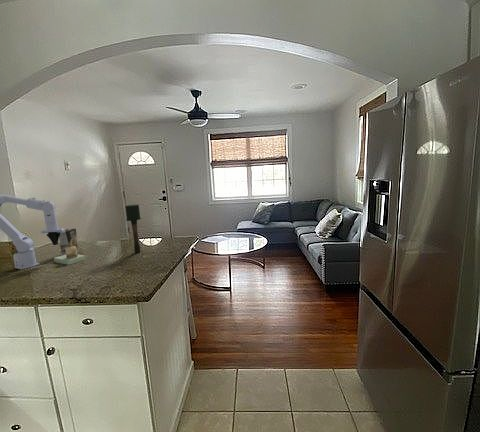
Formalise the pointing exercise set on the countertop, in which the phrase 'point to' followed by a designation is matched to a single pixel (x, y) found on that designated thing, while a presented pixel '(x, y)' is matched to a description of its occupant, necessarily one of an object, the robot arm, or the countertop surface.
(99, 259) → the countertop surface
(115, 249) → the countertop surface
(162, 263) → the countertop surface
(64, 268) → the countertop surface
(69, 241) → the coffee box
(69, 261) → the board
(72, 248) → the peg
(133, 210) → the stick grenade
